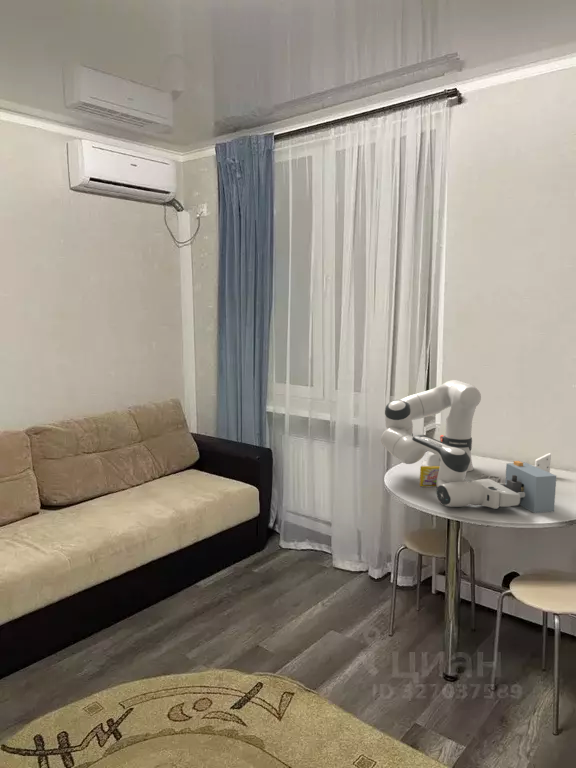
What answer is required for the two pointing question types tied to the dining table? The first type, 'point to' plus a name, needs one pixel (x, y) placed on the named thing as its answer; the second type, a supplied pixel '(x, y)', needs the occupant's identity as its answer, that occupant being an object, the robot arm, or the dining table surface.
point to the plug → (515, 486)
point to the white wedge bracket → (544, 462)
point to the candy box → (428, 475)
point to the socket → (534, 486)
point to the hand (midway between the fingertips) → (516, 490)
